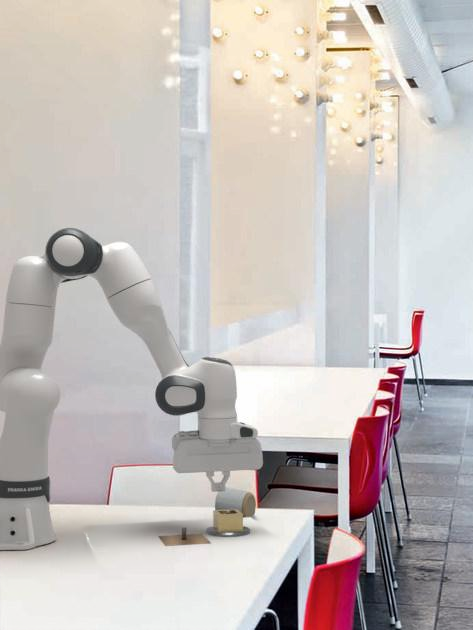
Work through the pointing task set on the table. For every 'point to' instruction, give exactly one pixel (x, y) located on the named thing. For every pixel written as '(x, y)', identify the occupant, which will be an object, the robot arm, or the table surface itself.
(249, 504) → the grey cylinder tan end
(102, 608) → the table surface
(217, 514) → the collar
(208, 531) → the stand
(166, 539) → the stand
